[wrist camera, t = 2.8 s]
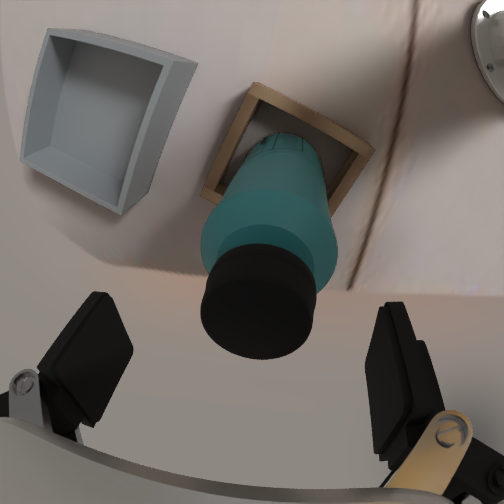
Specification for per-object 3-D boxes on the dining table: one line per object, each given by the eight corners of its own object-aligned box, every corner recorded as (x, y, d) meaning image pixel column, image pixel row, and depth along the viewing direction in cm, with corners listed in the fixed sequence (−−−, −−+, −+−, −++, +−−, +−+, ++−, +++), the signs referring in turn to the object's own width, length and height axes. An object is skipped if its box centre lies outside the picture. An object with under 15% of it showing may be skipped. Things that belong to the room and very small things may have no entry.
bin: (198, 63, 23) (173, 60, 18) (148, 192, 30) (121, 215, 26) (83, 29, 21) (47, 28, 17) (52, 146, 29) (19, 161, 24)
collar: (369, 144, 25) (375, 150, 23) (307, 238, 30) (307, 250, 28) (257, 82, 23) (253, 82, 21) (207, 186, 29) (199, 195, 27)
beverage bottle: (270, 114, 25) (195, 197, 8) (336, 153, 26) (394, 306, 9) (236, 175, 28) (138, 336, 11) (298, 210, 29) (284, 401, 12)
